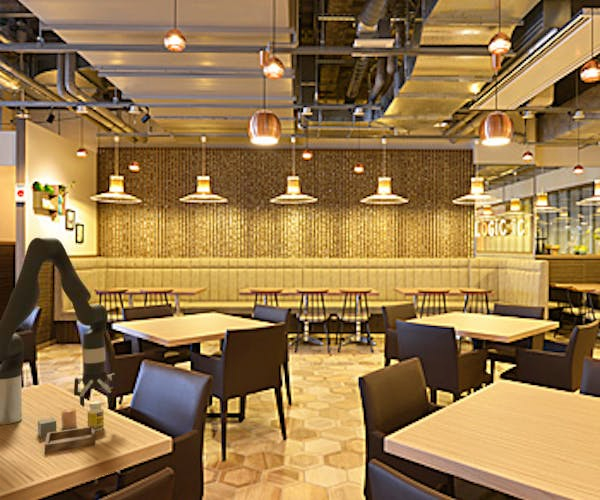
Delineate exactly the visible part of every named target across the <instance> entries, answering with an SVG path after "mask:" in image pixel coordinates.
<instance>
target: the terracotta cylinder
mask: <svg viewBox="0 0 600 500" xmlns="http://www.w3.org/2000/svg"><path fill="white" fill-rule="evenodd" d="M60 414H61V429H62V430H70V429H76V427H77V425H78V423H77V409H76V408H65V409H63V410H61V412H60Z"/></svg>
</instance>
